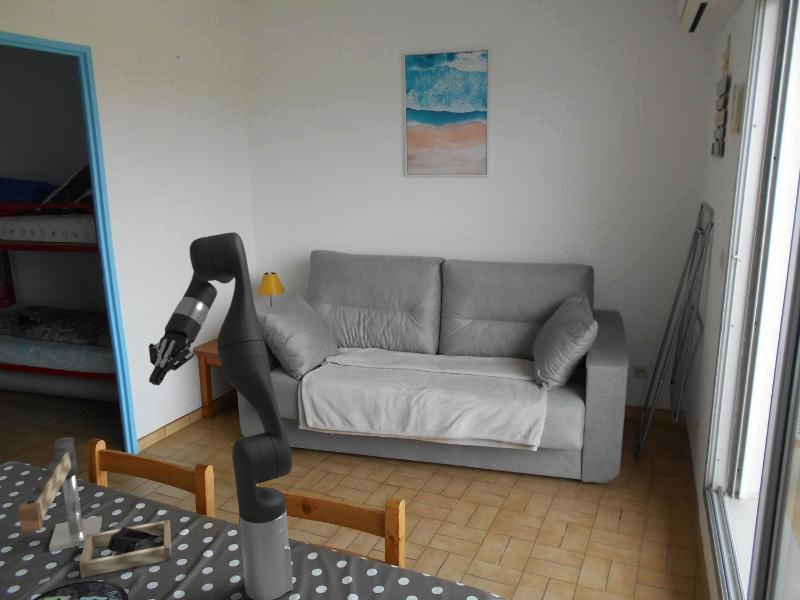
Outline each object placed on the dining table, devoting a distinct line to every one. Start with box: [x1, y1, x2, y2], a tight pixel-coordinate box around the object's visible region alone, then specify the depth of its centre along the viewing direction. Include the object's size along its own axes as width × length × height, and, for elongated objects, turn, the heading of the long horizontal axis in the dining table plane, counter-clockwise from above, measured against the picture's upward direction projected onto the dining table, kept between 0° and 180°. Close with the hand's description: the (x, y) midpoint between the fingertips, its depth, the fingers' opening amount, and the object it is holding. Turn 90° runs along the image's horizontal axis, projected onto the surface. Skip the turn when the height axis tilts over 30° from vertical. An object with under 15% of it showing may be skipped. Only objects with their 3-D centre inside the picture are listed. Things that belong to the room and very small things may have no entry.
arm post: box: [48, 473, 103, 552], centre depth 152 cm, size 10×10×16 cm
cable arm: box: [17, 436, 79, 534], centre depth 138 cm, size 30×4×8 cm, turn 13°
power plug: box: [106, 526, 158, 556], centre depth 146 cm, size 6×8×12 cm
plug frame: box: [79, 519, 172, 578], centre depth 146 cm, size 18×12×3 cm, turn 109°
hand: (153, 383), depth 150 cm, fingers closed
